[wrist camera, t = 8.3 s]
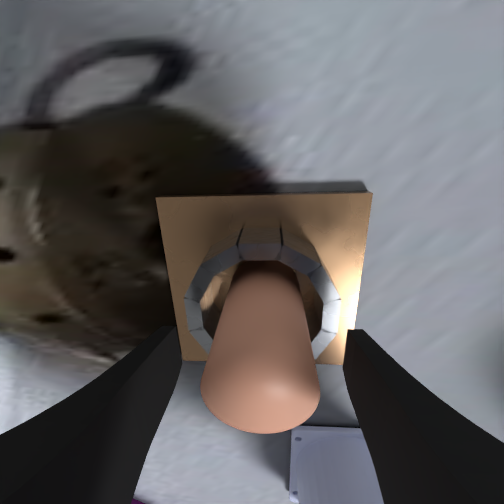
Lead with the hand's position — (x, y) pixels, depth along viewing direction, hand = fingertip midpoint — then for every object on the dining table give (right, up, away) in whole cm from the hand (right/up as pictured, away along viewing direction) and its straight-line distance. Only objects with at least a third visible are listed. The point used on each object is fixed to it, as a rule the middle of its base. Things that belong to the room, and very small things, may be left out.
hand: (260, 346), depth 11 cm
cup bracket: (0, +2, +5) cm, 5 cm away
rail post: (0, +2, +4) cm, 5 cm away
